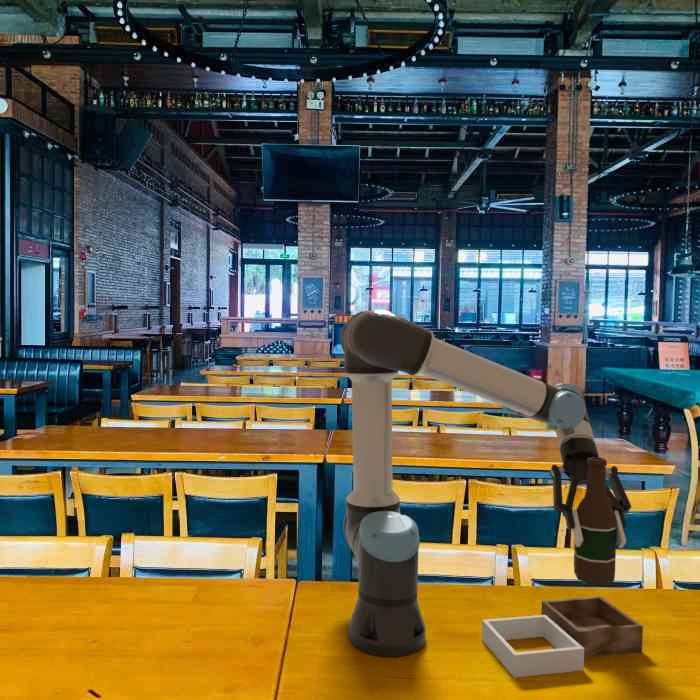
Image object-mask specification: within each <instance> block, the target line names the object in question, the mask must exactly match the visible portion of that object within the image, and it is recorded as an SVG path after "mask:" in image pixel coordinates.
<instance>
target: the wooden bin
mask: <svg viewBox="0 0 700 700" xmlns="http://www.w3.org/2000/svg"><path fill="white" fill-rule="evenodd" d="M540 610H541V613H540V615H546V616H547V617H549V618H550V619H551V620H552V621H553V622H554V623H555V624H557V625H558V626H559V627H560V628H561V629H562V630H564V631H565V632H566V633H567V634H568V635H569V636H570V637H572V638H573V639H574V640H575V641H576V642H577V643H579V644H580V645H581V646H582V647H583V648H584V659H585V658H593V657H601V656H602V657H603V656H613V655H623V654H632V653H633V654H634V653H642V652H643V639H644V637H643V636H644V635H643V633H644V626H643V625H642V624H640V623H639V622H638V621H637V620H635V619H634V618H632V617H631V616H629V615H628V614H626V613H625V612H624V611H622V610H621V609H619V608H617V607H616V606H615V605H614V604H612V603H610V602H609V601H608V600H607V599H605V598H604V597H602V596H588V597H576V598H561V599H547V600H541V609H540Z"/></svg>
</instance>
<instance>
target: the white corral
mask: <svg viewBox="0 0 700 700" xmlns="http://www.w3.org/2000/svg"><path fill="white" fill-rule="evenodd" d="M481 622H482V623H481V641H482V642H483V643H484V645H485V646H486V647H487V648H488V649H489V651H491V653H492V654H493V655H494V656H495V657H496V659H497V660H499V662H500V663H501V664H502V666H503V667H504V668H505V669H506V670H507V671H508V673H509V674H510V675H511V676H512V678H514V679H515V678H524V677H533V676H534V677H535V676H543V675H552V674H561V673H571V672H572V673H573V672H583V671H584V669H585V667H584V666H585V658H584V648H583V647H582V646H581V645H580V644H579V643H577V642H576V641H575V640H574V639H573V638H572V637H570V636H569V635H568V634H567V633H566V632H565V631H564V630H562V629H561V628H560V627H559V626H558V625H557V624H555V623H554V622H553V621H552V620H551V619H550V618H549V617H547V616H546V615H541V614H536V615H527V616H525V615H524V616H516V617H501V618H490V619H482V620H481ZM540 637H541V638H542V637H543V638H544V639H545V640H547V642H549V644H550V645H552V647H553V648H551V649H540V650H528V651H519V652H517V651H516V650H515V649H514V648H513V647H512V645H510V643H508V642H507V641H509V640H510V641H511V640H523V639H530V638H532V639H533V638H540Z"/></svg>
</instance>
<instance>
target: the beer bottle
mask: <svg viewBox="0 0 700 700" xmlns="http://www.w3.org/2000/svg"><path fill="white" fill-rule="evenodd" d="M587 463H588V464H589V465H588V476H587V485H586V489H585V493H584V497H583V498H582V500H581V501H580V502H579V503H578V505H577V508H576V510H577V514H578V518H579V523H580V527H581V532H582V537H583V542H582V544H581V546H580V547H576V544H575V539H574V541H573V543H574V547H573V572H574V574H575V575H574V576H576V578H577V580H578V581H581V582H583V583H587V584H589V585H597V586H598V585H599V586H607V585H609V584H611V583H614V581H615V578H616V577H615V576H616V558H617V557H616V553H617V552H616V551H617V550H616V549H617V541H616V516H615V513H614V510H613V508H612V507H611V505H610V503H609V502H608V499H607V493H606V485H607V478H606V466H607V465H608V462H607V459H605V458H604V457H600V456H599V457H591V458H588V461H587Z"/></svg>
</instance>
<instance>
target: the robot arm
mask: <svg viewBox="0 0 700 700" xmlns="http://www.w3.org/2000/svg"><path fill="white" fill-rule="evenodd" d="M340 345H341V349H342V351H343V353H344V375H345V376H347V378H348V379H350V381H351V407H352V408H351V411H352V412H351V413H352V416H351V417H352V422H351V423H352V424H351V425H352V427H351V428H352V485H353V486H352V488H353V489H352V490H351V492H350V493H349V494H348V495H347V497H346V512H345V515H344V518H343V522H342V523H343V526H342V528H343V535H344V538H345V541H346V543H347V545H348V546H349V547H350V550H351V551H352V553H353V554H354V556H355V558H356V560H357V562H358V584H357V585H358V592H357V593H358V595H357V599H356V602H355V606H354V608H353V611H352V614H351V617H350V620H349V623H348V640H349V642H350V644H352V646H353V647H355V648H356V649H358V650H360V651H362V652H365V653H367V654H371V655H374V656H379V657H400V656H406V655H410V654H413V653H416V652H417V651H419V650H420V649H421V648H423V646H425V643H426V633H427V632H426V630H427V629H426V626H425V622H424V618H423V615H422V611H421V609H420V604H419V601H418V588H419V587H418V584H419V583H418V582H419V580H418V579H419V552H420V551H419V548H420V542H421V541H420V535H419V528H418V527H419V526H418V525H417V523H416V522H415V520H414V519H413V518H412V517H410V516H408V515H406V514H402V513H401V505H400V503H401V498H400V496H399V495H398V494H397V493H396V492H395V491H394V489H393V485H394V484H393V414H392V412H393V403H392V399H393V398H392V395H393V394H392V393H393V392H392V391H393V390H392V389H393V388H392V381H393V380H394V378H396V377H397V375H398V374H399V372H400V373H401V372H402V373H404V374H407V375H409V376H412V377H414V376H417V375H420V374H421V375H423V376H426V377H429V378H430V379H434V380H437V381H439V382H442V383H444V384H447V385H449V386H452V387H455V388H457V389H460V390H463V391H464V392H467V393H469V394H472V395H474V396H477V397H480V398H483V399H485V400H487V401H490V402H493V403H495V404H498V405H499V406H501V407H502V409H503V411H504V412H506V413H507V414H512V415H514V416H518V417H519V416H520V417H523V418H528V419H530V420H533V421H537V422H541V423H544V424H547V425H549V426H553V427H554V429H555V434H556V438H557V443H558V447H559V452H560V457H561V461H562V465H559V466H558V465H557V464H552V466H551V468H550V470H549V475H550V477H551V479H552V491H553V492H552V495H553V497H552V498H553V510H554V512H555V513H562V516H563V517H564V518H565V522H566V527H567V528H568V530H572V534H573V538H574V539H575V544H576V547H580V546H581V544H582V542H583V537H582V532H581V527H580V523H579V518H578V514H577V509H573V507H574V506H573V505H574V501H575V497H576V495H577V494H576V493H577V491H578V490H577V489H578V486H583V485H586V486H587V476H588V465H589V464H588V463H587V461H588V458H591V457H599V458H600V455H599V452H598V448H597V444H596V443H595V436H594V433H593V429H592V425H591V422H590V419H589V414H588V410H587V406H586V400H585V398H584V397H583V393H582V390H581V389H580V387H578V386H577V385H576V384H574V383H570V382H566V383H562V382H561V383H557V384H555V385H550V384H548V383H545V382H543V381H541V380H539V379H536V378H534V377H531V376H530V375H529V376H528V375H526V374H523V373H521V372H519V371H516V370H515V369H512V368H510V367H506V366H504V365H502V364H500V363H497V362H494V361H492V360H490V359H487V358H485V357H482V356H480V355H477V354H475V353H472V352H470V351H468V350H465V349H464V348H460V347H458V346H456V345H453V344H452V343H451V344H450V343H448V342H447V341H443V340H441V339H438V338H436V337H435V335H434V333H433V331H432V330H430V329H428V328H425V327H423V326H421V325H418V324H417V323H415V322H413V321H410V320H409V319H406V318H404V317H403V316H401V315H399V314H397V313H395V312H393V311H391V310H387V309H372V310H371V309H369V310H362V311H360V312H357V313H355V314H354V315H352V316H351V317H349V319H348V320H347V321H346V323H345V324H344V326H343V327H342V329H341V334H340ZM605 467H606V466H605ZM618 470H619V468H618V467H617V466H612V467H611V468H610V467H606V480H608V483H609V486H610V488H611V490H612V491H611V490H610V488H609V487H608V486H607V484H606V493H607V499H608V502H609V503H610V505H611V507H612V508H613V510H614V513H615V516H616V545H617V547H618V549H623V547H624V546H625V545H626V543H627V539H626V535H625V532H624V531H625V529H626V528H627V521H626V517H625V515H628V513H629V512H630V510H631V509H632V505H631V501H630V500H629V498H628V496H627V494H626V491H625V487H624V486H623V485H622V482H621V480H620V478H619V474H618V473H619V471H618ZM563 474H564V475H566V477H568V478H569V479H570V483H569V488H568V491H567V496H566V498H565V499H566V500H565V503H563V488H562V487H563V486H562V483H563V482H562V475H563Z"/></svg>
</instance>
